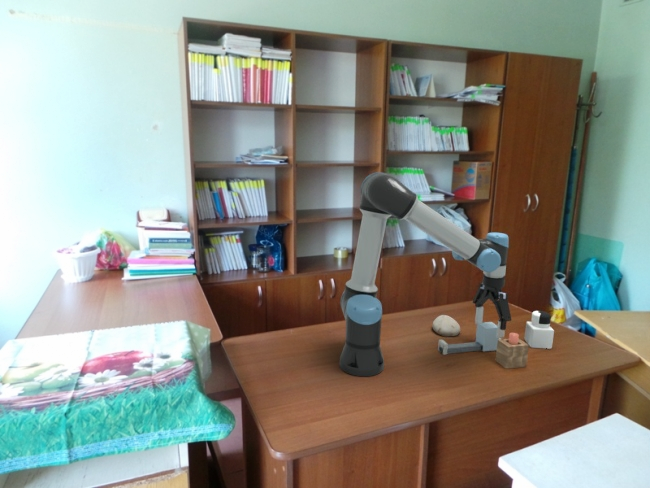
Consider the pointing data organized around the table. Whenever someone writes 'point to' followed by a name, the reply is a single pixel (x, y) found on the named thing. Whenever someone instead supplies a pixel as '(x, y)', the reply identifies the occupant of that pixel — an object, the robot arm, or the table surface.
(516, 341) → the plunger
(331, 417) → the table surface
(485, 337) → the carriage
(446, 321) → the stone
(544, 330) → the container
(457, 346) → the rail
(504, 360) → the wooden box
